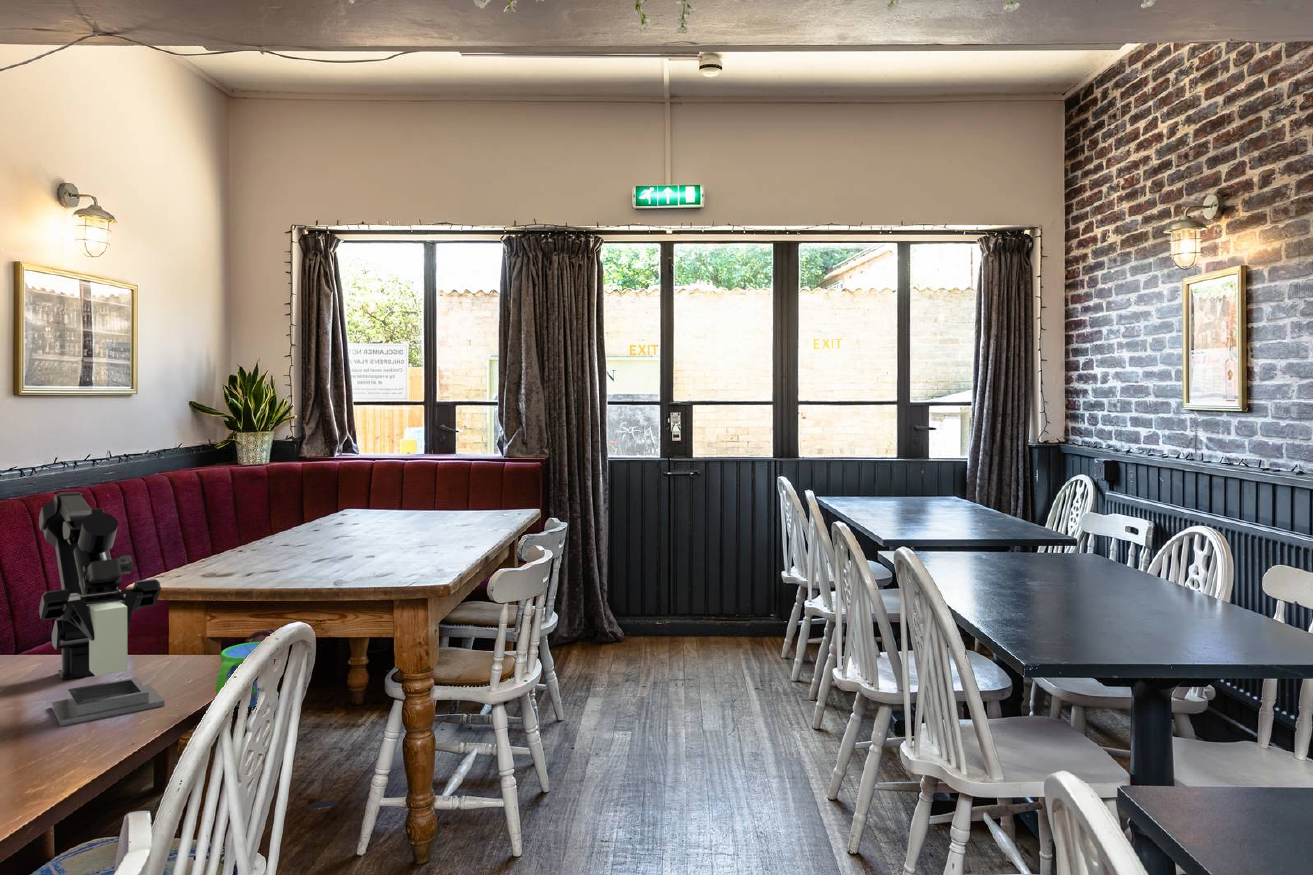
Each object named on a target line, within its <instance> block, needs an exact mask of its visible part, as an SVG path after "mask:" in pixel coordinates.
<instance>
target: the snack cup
mask: <svg viewBox="0 0 1313 875" xmlns="http://www.w3.org/2000/svg"><path fill="white" fill-rule="evenodd" d="M260 643H261V642H251V643H245V642H244V643H240V644H237V645H232V646H228V647H226V648H225V649H223V650H221V653H220V654H219V656H220V660H221V665H220V667H219V671H218V674H217V676H216V677H217V678H216V684H215V692H216V695H217V694H218V692H219V691H220V689H221V688H222V687H224V685H225V682H226V681H227V680H228V679H229V678H230V677H231V675H232V674H233V673H234V671H235V670H236V668H238V666H239V665H240V664H242V663H243V661H244V659H245V657H246V656H247V655H249V654H250V653H251V652H252V650H254V649H255V648H256V647H257V646H258V645H259V644H260ZM226 683H227V682H226ZM258 697H259V690H258V688H257V680H256V681H255V682H254V686H253V688H252V694H251V700H250V705H249V707H248V708H255V705H256V704H257V700H258ZM238 705H239V704H238ZM238 705H236V706H235V707H236V708H239V707H238Z"/></svg>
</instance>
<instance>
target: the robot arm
mask: <svg viewBox="0 0 1313 875" xmlns="http://www.w3.org/2000/svg"><path fill="white" fill-rule="evenodd" d="M85 499H86V498H85V494H84V493H82V492H81V493H80V492H76V491H75V492H59V493H58V494H54V497H53V499H52V500H50V501H49V502H47V503H46V504H44V505H42V506H41V508H40V509H41V510H40V512H39V516H38V517H39V519H38V524H39V526H38V528H39V530H40V531H42V532H43V535H44V541H46V542H47V543H48V544H50V545H51V546H52V547H53V548H54V549H55V554H56V562H57V567H58V568H57V569H58V575H59V581H60V588H61V589H57V590H55V589H54V590H48V591H44V593H43V594H42V595H41V599H40V603H39V606H38V607H39V616H40V617H39V618H40V620H42V621H44V622H45V621H51V620H54V624H53V627H52V632H51V645H52V647H53V648H54V650H56V651H57V650H61V669H58V670H57V674H58V676H59V677H60V679H61V680H68V679H69V680H70V679H75V678H81V677H88V676H95V675H94V674H93V673H92V672H91V671H90V670H89V639H90V640H91V641H93V640H94V630H93V627H92V624H91V621H90V618H89V606H92V605H99V604H107V603H115V602H121V603H123V604H124V605H126V606H127V636H128V635H129V630H130V625H131V621H132V614H133V612H138V610H139V608H148V607H153V606H154V605H156V604H157V602H158V598H159V596H160V594H161V591H162V588H161V583H160V581H158V579H156V578H151V579H144V580H135V581H134V584H133V587H132V588H127V589H119V588H118V587H121V585H122V579H121V578H122V577H123V576H124V575H129V574H131V573H132V571H133V570H134V565H133V560H132V556H131V555H121V556H119V558H114V559H112V557H111V553H110V551H111V549H113V546H114V543H115V539H116V535H117V532H118V529H119V520H118V519H117V518H115V517H114V516H113V515H111V514H110V513H106V512H104V508H91V507H90V506H89V504H88V503H87V502H86V500H85Z"/></svg>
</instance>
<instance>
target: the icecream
mask: <svg viewBox="0 0 1313 875" xmlns="http://www.w3.org/2000/svg"><path fill="white" fill-rule="evenodd" d="M275 631H276V630H275V629H274V627H270V628H267V629H266V630H257V631H254V632H253V633H252V634H251V635H249V636H248V637H247V638H246V639H244V643H251V642H261V641H263V640H264V639H265V638H266V637H267V636H270V634H272V633H273V632H274V633H275Z"/></svg>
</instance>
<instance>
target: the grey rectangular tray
mask: <svg viewBox="0 0 1313 875" xmlns="http://www.w3.org/2000/svg"><path fill="white" fill-rule="evenodd" d="M165 703H166V702H165V698H163V697H162V696H161V695H160V694H159V692H157V690H156V689H155V687H154V686H152V685H151V684H150V683H149V684H144V685H143V684H142V683H141V681H140V680H138V678H137V677H131V678H125V679H120V680H119V679H118V680H114V681H108V682H102V683H96V684H92V685H91V684H89V685H85V686H79V687H73V688H68V689H67V698H66V699H61V700H57V701H56V700H54V701H51V702H50V708H51V710H52V711H53V714H54V716H55V718H56V720H57V722H58V723H59V726H60V727H63V726H69V725H73V724H80V723H85V722H89V721H94V720H98V719H99V720H100V719H104V718H110V717H115V716H119V715H125V714H129V713H130V714H131V713H135V712H140V711H145V710H150V709H155V708H161V707H165V706H166V705H165Z"/></svg>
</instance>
